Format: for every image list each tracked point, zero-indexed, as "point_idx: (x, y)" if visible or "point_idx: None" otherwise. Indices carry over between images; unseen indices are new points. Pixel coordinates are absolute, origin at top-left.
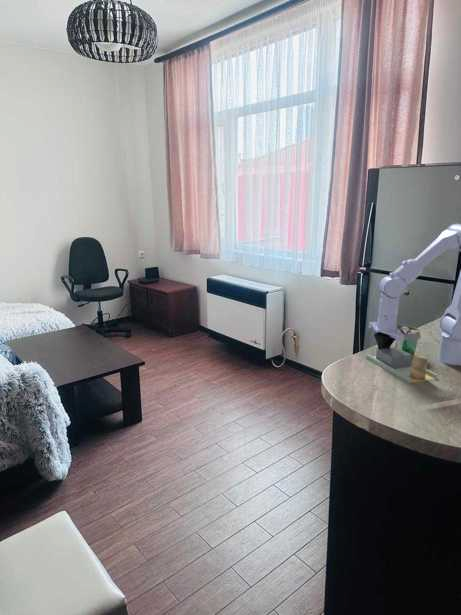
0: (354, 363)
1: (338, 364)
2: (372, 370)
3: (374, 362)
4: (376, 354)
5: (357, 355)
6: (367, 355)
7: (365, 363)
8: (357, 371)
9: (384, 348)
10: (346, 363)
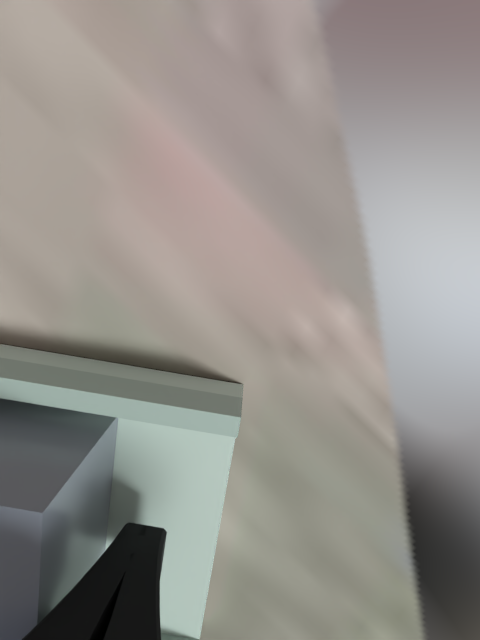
0: (229, 226)
1: (289, 18)
2: (14, 259)
3: (85, 373)
4: (79, 459)
5: (378, 416)
6: (204, 408)
7: (181, 331)
8: (41, 84)
9: (34, 625)
10: (268, 139)
